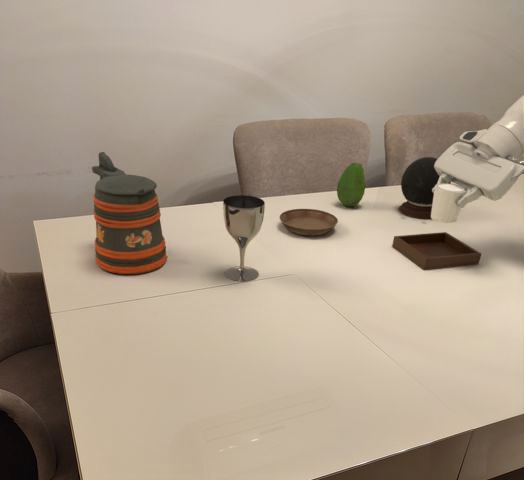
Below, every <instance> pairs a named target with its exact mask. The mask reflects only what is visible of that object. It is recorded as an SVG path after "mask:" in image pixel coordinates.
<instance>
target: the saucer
mask: <svg viewBox="0 0 524 480" xmlns="http://www.w3.org/2000/svg"><path fill="white" fill-rule="evenodd" d="M279 220H280V222H281V224H282V225H283V227H285V228H286V229H287V230H288V231H290V232H292V233H294V234H297V235H301V236H309V237H311V236H312V237H313V236H314V237H315V236H321V235H325V234H327V233H328V232H331V230H333V229H334V228H335V227H336V225H338V223H339V218H337V217H336V216H335V215H334V214H332V213H330V212H327V211H324V210H320V209H314V208H293V209H289V210H286V211H283V212H281V214H280V215H279Z"/></svg>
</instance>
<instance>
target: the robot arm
mask: <svg viewBox="0 0 524 480" xmlns="http://www.w3.org/2000/svg"><path fill="white" fill-rule="evenodd" d="M436 159H437V160H436V162H435V165H434V168H435V170H436V172H437V174H438V175H439V176H440V177H439V180H438V182H437V184H440V183H449V182H450V181H451V183H452V184H456V185H460V186H463V187H465V188H467V190H469V191H470V192H467V194H466V195H464V196H461V195H460V196H459V197H458V199H456V200H455V203H456V205H457V206H459V207H460V208H461V209H463V208H464V207H466V205H468V204H469V203H472V202H474V201H476V200H479V199H480V198H481V197H482V196H483V197H485V198H487V199H489V200H491V201H498V200H501V199H502V198H503V197H504V196H505V195H506V194H507V193H508V192H509V191H510V190H511V189H512V187H513V186H514V185H515V184H516V183H517V181H518V179H519V177H521V176H522V175H523V174H524V94H522V95H521V96H520V97H519V98H518V99H517V100H516V101H515V102H514V103H513V104H512V105H511V106H510V107H509V108H508V109H506V111H505V112H504V114H503V116H502V117H501V118H500V119H499V120H498V121H496V122H493V124H492V125H491V126H489V128H488V129H487V128H484V129H480V130H470V131H464V132H463V133H462V134H461V135H460V136H459V141H457V142H454V143H453V144H452V145H450V146H449V147H448V148H447V149H446V150H444V152H443V153H442V154H441V155H440V156H439V157H438V158H436ZM434 190H435V187H434V188H433V189H432V192H433V193H434Z"/></svg>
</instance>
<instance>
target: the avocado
mask: <svg viewBox="0 0 524 480" xmlns="http://www.w3.org/2000/svg"><path fill="white" fill-rule="evenodd" d="M365 179H366V178H365V172H364V168H363V166H362V164H361V163H358V162H352V163H351V164H349V165H348V166H347V167H346V168H345V169H344V170H343V172H342V174H341V176H340V178H339V180H338V182H337V186H336V194H337V198H338V201H339V202H340V204H342V205H343V206H345V207H348V208H352V207H355V206H357V205H358V204H359V203H360V202H361V201H362V200H363V197H364V195H365V191H366V181H365Z"/></svg>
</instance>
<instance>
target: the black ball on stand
mask: <svg viewBox="0 0 524 480" xmlns="http://www.w3.org/2000/svg"><path fill="white" fill-rule="evenodd" d="M437 159H438V158H437V157H433V156H426V157H425V156H424V157H421V158H418V159H416V160H414V161H412V163H410V164H409V165H408V166H407V168H405V170H404V172H403V173H402V176H401V181H400V182H401V183H400V189H401V192H402V195H403V197H404V198H405V200H406V201H405V202H402V203H401V205H400V206H399V208H398V211H399V213H400V214H402V215H403V216H405V217H409V218H413V219H419V220H433V219H432V218H431V211H432V204H433V197H434V193H433V192H432V189H433V188H434V187H435V185H436V184H437V182H438V180H439V177H440V176H439V175H438V174H437V172H436V170H435V168H434V165H435V162H436V160H437ZM449 184H452V182H451V181H450V182H449Z"/></svg>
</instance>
